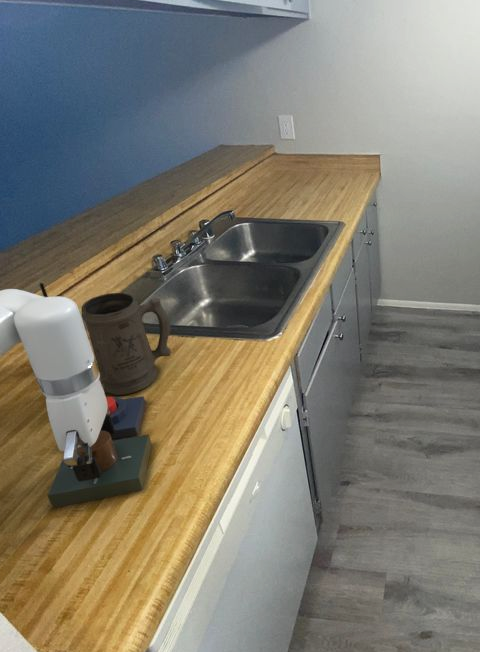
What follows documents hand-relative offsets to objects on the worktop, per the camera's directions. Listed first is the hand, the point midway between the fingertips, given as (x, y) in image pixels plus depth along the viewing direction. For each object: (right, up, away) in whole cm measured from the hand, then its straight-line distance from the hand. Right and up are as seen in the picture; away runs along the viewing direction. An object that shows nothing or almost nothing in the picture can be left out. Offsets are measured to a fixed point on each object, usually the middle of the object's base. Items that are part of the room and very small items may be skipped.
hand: (98, 455), depth 80 cm
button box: (-6, +2, +13) cm, 14 cm away
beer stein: (-7, +8, +26) cm, 28 cm away
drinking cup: (-26, +11, +30) cm, 41 cm away
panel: (0, -4, +2) cm, 5 cm away
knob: (0, -1, +1) cm, 2 cm away
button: (-5, +5, +11) cm, 13 cm away
